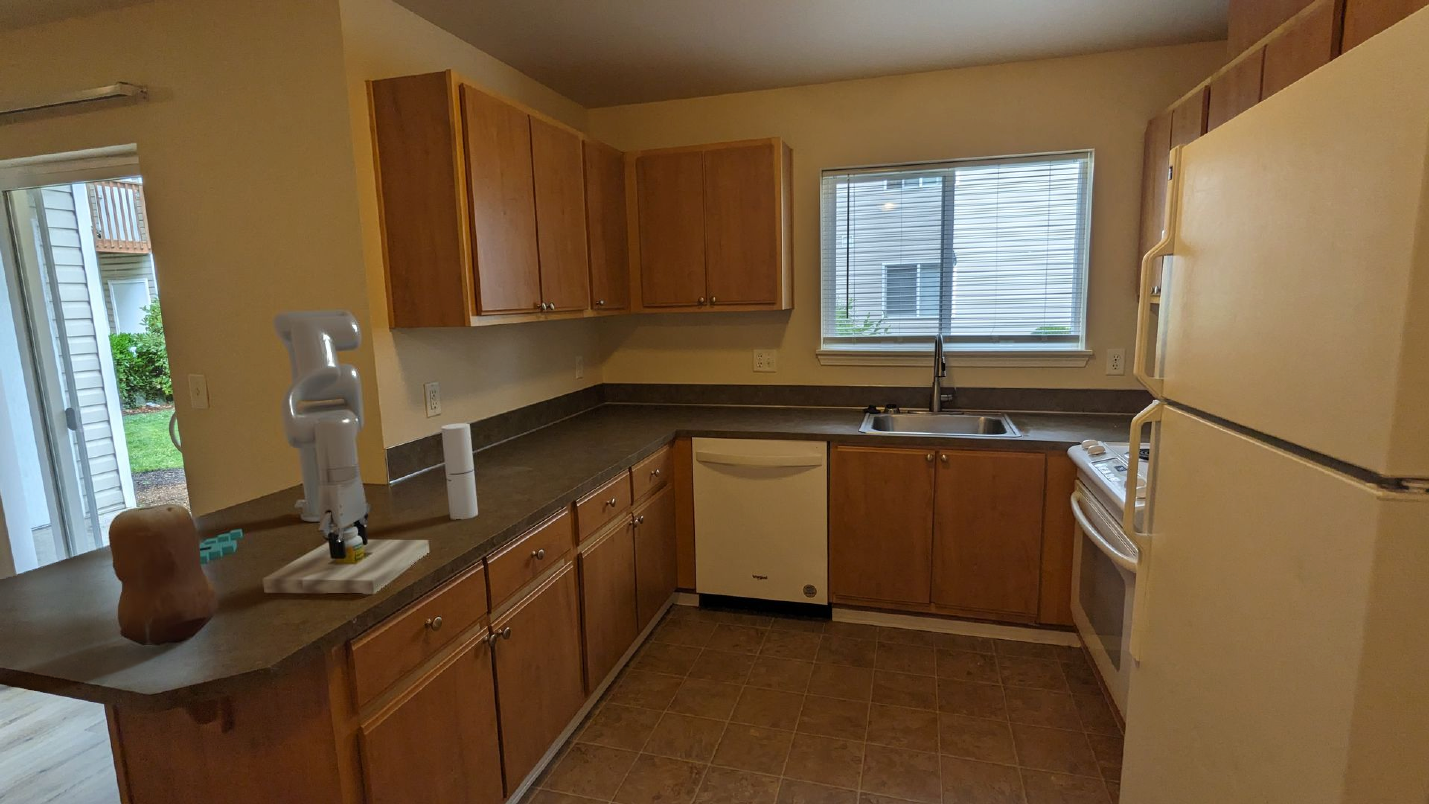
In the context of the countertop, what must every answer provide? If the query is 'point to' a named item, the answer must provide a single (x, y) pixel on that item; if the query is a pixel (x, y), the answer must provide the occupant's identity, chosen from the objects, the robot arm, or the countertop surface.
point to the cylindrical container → (459, 470)
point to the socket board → (347, 569)
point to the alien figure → (219, 546)
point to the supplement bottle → (352, 546)
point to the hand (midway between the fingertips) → (349, 550)
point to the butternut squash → (160, 575)
